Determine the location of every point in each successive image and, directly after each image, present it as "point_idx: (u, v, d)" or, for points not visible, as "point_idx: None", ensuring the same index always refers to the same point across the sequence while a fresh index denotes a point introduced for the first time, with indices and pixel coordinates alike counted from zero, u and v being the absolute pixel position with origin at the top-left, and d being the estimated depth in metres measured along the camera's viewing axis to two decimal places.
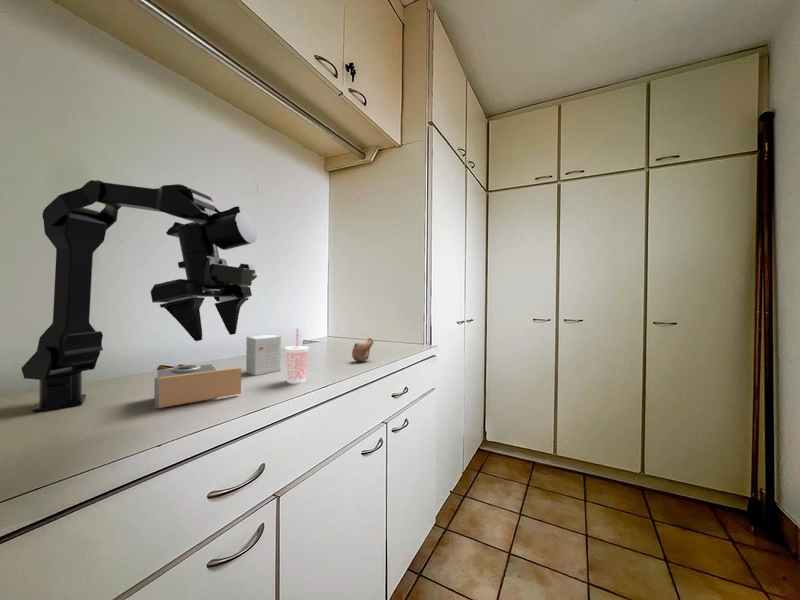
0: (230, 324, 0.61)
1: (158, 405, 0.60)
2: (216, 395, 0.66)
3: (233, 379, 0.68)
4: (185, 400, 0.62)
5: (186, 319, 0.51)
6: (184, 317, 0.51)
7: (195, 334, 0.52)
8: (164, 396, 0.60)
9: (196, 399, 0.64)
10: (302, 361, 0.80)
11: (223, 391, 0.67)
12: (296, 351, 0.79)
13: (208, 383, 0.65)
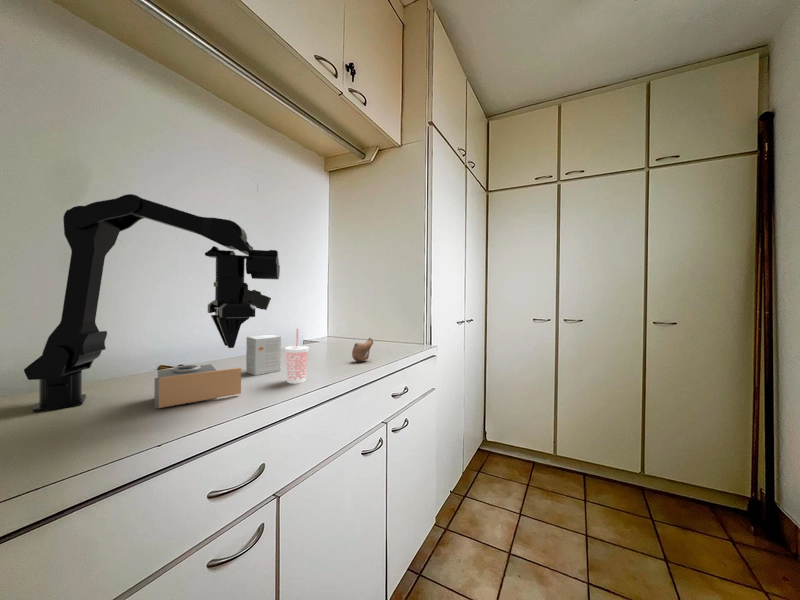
0: None
1: (158, 405, 0.60)
2: (216, 395, 0.66)
3: (233, 379, 0.68)
4: (185, 400, 0.62)
5: (229, 331, 0.67)
6: (228, 329, 0.66)
7: (232, 343, 0.68)
8: (164, 396, 0.60)
9: (196, 399, 0.64)
10: (302, 361, 0.80)
11: (223, 391, 0.67)
12: (296, 351, 0.79)
13: (208, 383, 0.65)
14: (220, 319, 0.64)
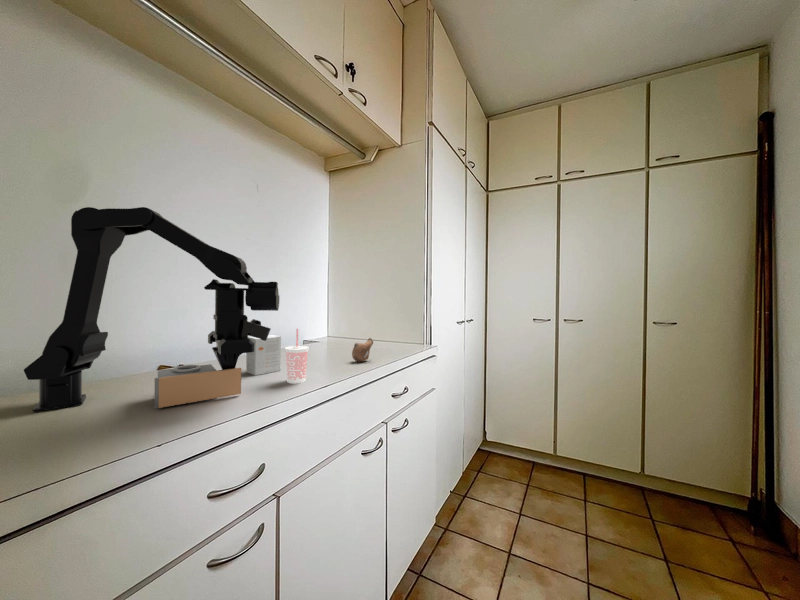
0: None
1: (158, 405, 0.60)
2: (216, 395, 0.66)
3: (233, 379, 0.68)
4: (185, 400, 0.62)
5: (227, 363, 0.68)
6: (226, 361, 0.68)
7: None
8: (164, 396, 0.60)
9: (196, 399, 0.63)
10: (302, 361, 0.80)
11: (223, 391, 0.67)
12: (296, 351, 0.79)
13: (208, 383, 0.65)
14: (218, 353, 0.65)
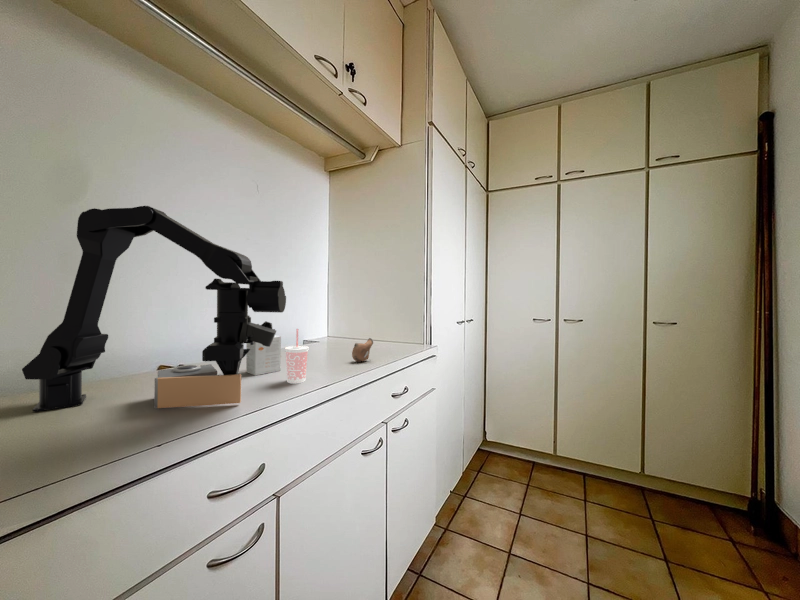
0: None
1: (157, 405, 0.59)
2: (213, 401, 0.62)
3: (232, 386, 0.63)
4: (182, 403, 0.60)
5: (228, 368, 0.63)
6: (227, 366, 0.63)
7: None
8: (162, 397, 0.60)
9: (193, 404, 0.61)
10: (302, 361, 0.80)
11: (221, 398, 0.62)
12: (296, 351, 0.79)
13: (205, 388, 0.61)
14: None
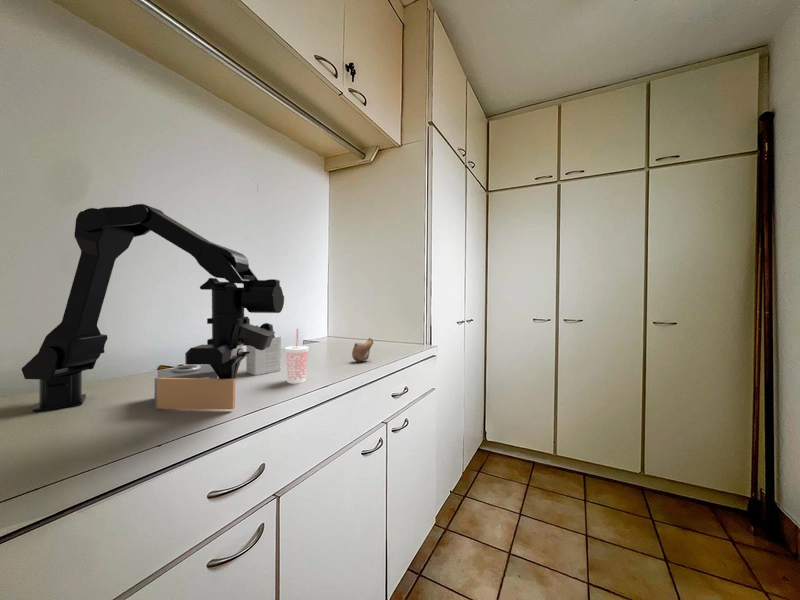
0: None
1: (157, 405, 0.59)
2: (207, 406, 0.60)
3: (225, 391, 0.60)
4: (179, 405, 0.59)
5: (222, 372, 0.61)
6: (221, 369, 0.60)
7: None
8: (161, 397, 0.59)
9: (189, 406, 0.59)
10: (302, 361, 0.80)
11: (214, 403, 0.60)
12: (296, 351, 0.79)
13: (200, 391, 0.59)
14: None
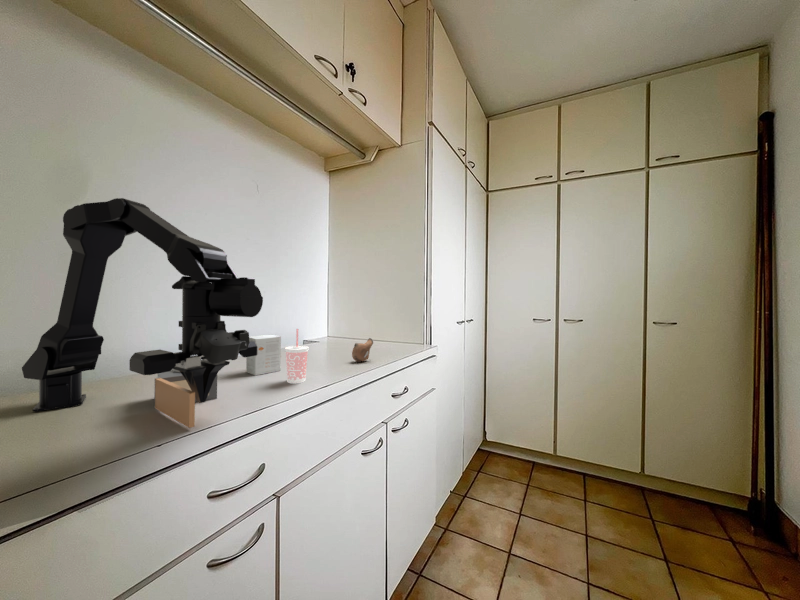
0: None
1: (155, 405, 0.59)
2: (176, 417, 0.54)
3: (185, 405, 0.52)
4: (164, 410, 0.57)
5: (191, 382, 0.54)
6: (190, 379, 0.54)
7: (197, 397, 0.54)
8: (157, 398, 0.59)
9: (168, 413, 0.56)
10: (302, 361, 0.80)
11: (180, 416, 0.53)
12: (296, 351, 0.79)
13: (173, 400, 0.55)
14: None
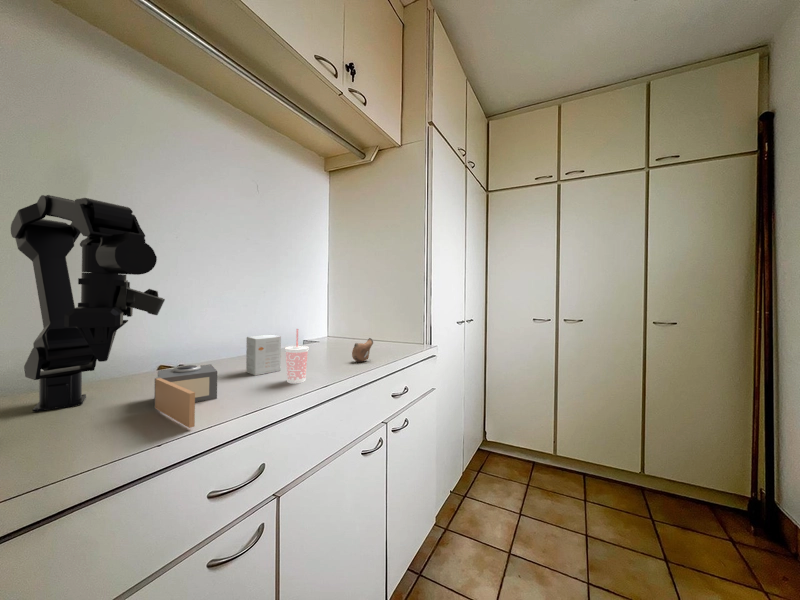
0: None
1: (155, 405, 0.59)
2: (176, 417, 0.54)
3: (185, 405, 0.52)
4: (164, 410, 0.57)
5: (97, 341, 0.53)
6: (96, 338, 0.53)
7: (103, 355, 0.54)
8: (157, 398, 0.59)
9: (168, 413, 0.56)
10: (302, 361, 0.80)
11: (180, 416, 0.53)
12: (296, 351, 0.79)
13: (173, 400, 0.55)
14: (77, 326, 0.50)
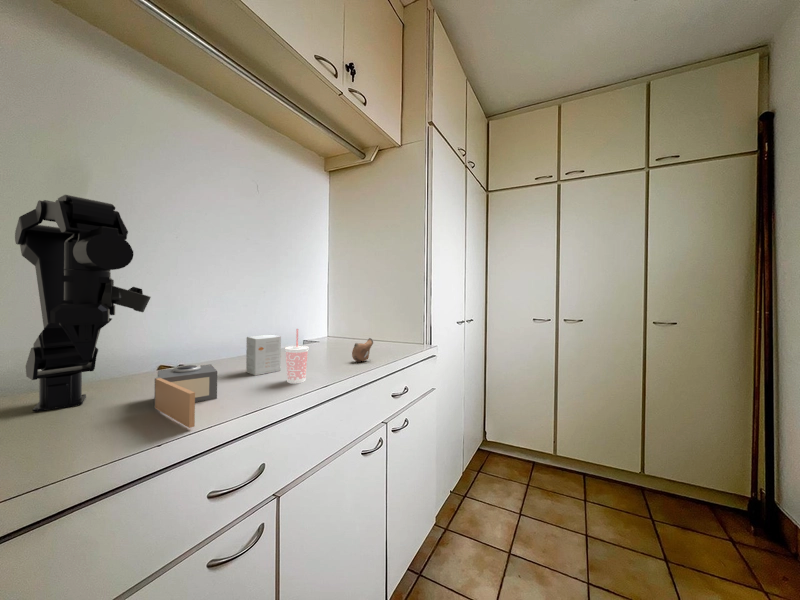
0: None
1: (155, 405, 0.59)
2: (176, 417, 0.54)
3: (185, 405, 0.52)
4: (164, 410, 0.57)
5: (82, 339, 0.52)
6: (80, 336, 0.52)
7: (87, 353, 0.53)
8: (157, 398, 0.59)
9: (168, 413, 0.56)
10: (302, 361, 0.80)
11: (180, 416, 0.53)
12: (296, 351, 0.79)
13: (173, 400, 0.55)
14: (61, 324, 0.49)
